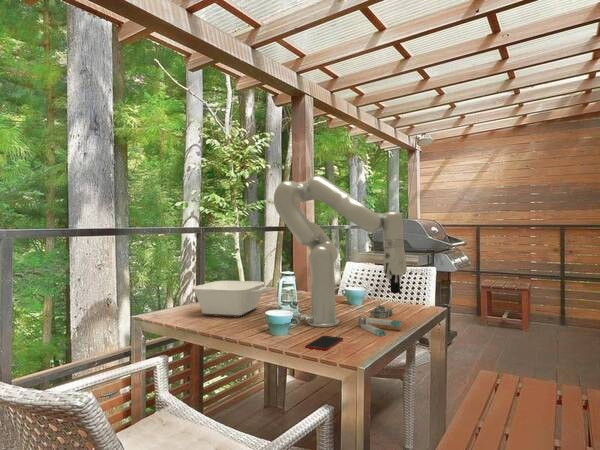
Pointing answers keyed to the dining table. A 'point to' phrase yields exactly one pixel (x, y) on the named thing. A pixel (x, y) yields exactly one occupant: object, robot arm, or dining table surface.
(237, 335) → the dining table surface
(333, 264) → the robot arm
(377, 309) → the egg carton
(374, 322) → the tongs upper arm
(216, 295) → the tub
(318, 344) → the cell phone
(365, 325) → the tongs lower
